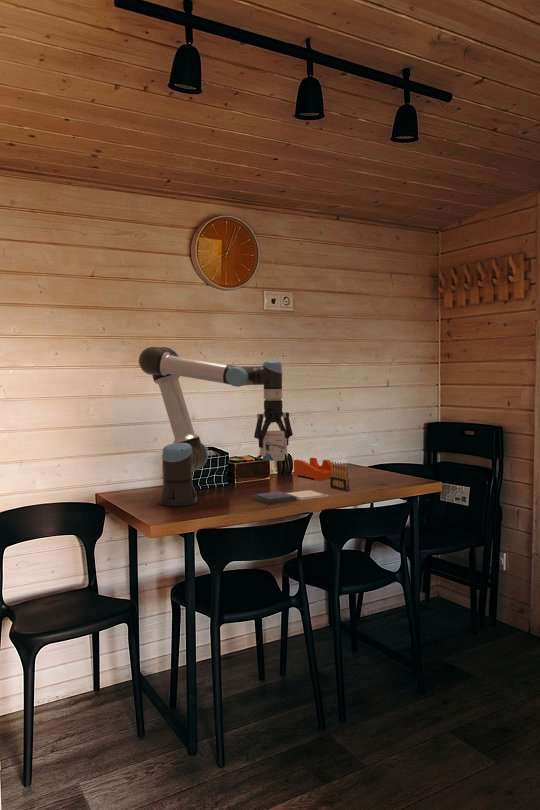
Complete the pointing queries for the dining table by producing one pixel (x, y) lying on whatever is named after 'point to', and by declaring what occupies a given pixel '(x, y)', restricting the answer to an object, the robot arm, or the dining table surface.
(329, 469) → the tape dispenser
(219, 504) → the dining table surface
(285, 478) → the dining table surface
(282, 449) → the ink box
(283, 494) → the pad
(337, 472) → the ammunition clip
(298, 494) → the board
